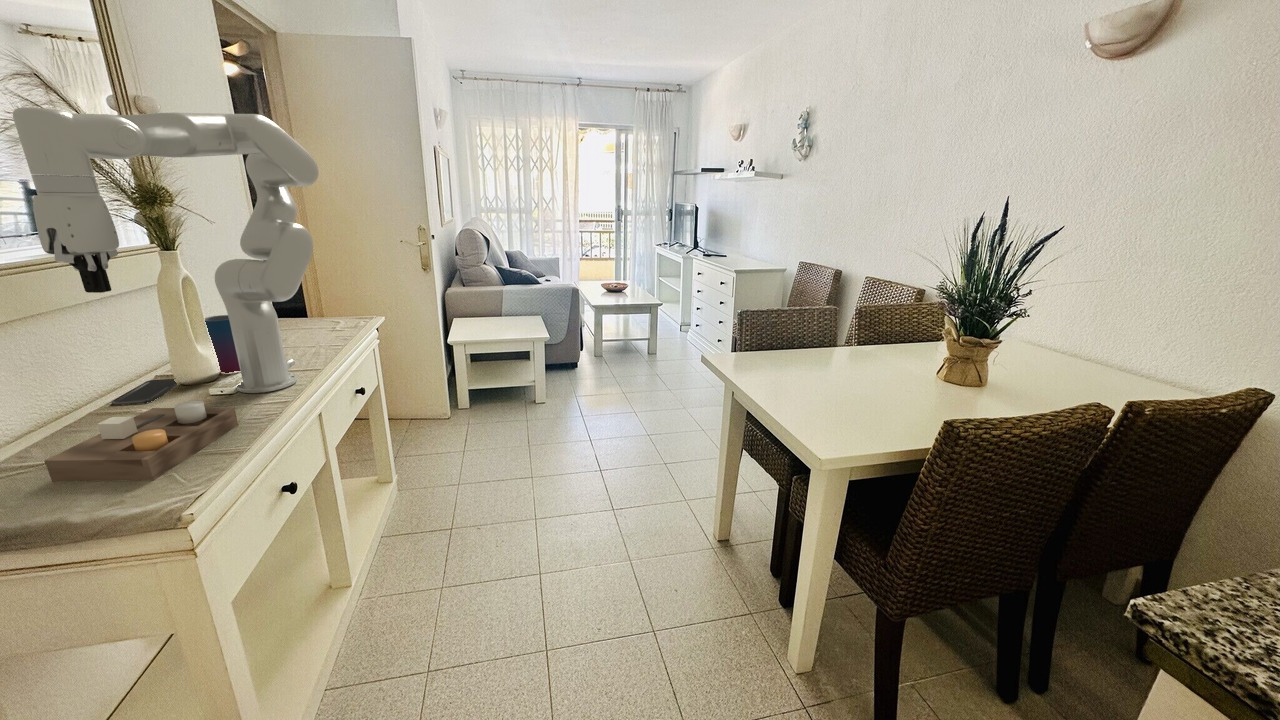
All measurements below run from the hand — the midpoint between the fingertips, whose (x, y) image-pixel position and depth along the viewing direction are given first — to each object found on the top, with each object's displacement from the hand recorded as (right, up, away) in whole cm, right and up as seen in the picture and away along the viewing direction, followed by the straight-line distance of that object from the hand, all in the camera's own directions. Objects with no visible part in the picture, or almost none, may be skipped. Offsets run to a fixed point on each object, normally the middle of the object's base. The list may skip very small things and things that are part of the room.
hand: (98, 291), depth 95 cm
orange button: (+12, -29, -2) cm, 31 cm away
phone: (-19, -21, +30) cm, 41 cm away
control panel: (+8, -30, +3) cm, 31 cm away
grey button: (+11, -24, +7) cm, 28 cm away
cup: (-11, -16, +45) cm, 48 cm away
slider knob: (+5, -26, 0) cm, 27 cm away
